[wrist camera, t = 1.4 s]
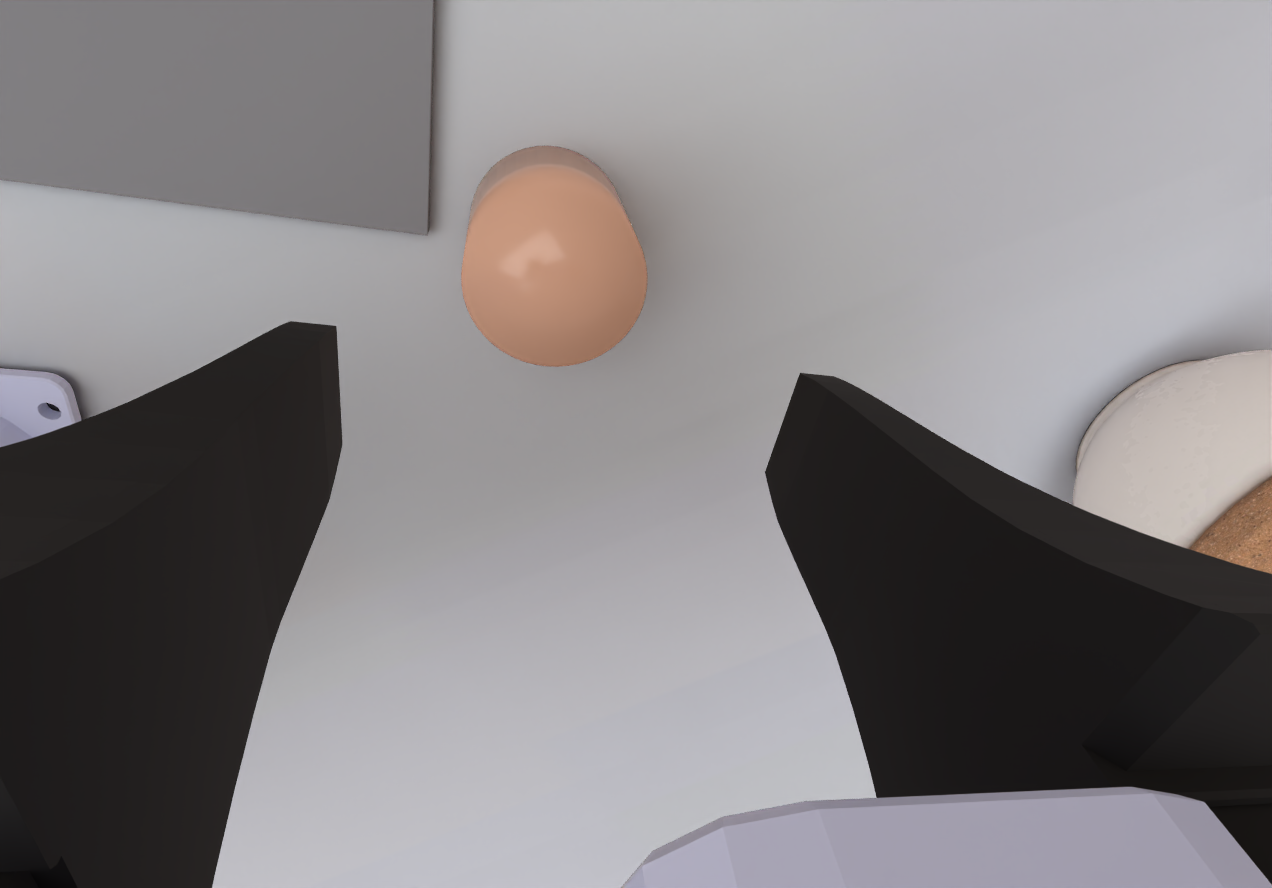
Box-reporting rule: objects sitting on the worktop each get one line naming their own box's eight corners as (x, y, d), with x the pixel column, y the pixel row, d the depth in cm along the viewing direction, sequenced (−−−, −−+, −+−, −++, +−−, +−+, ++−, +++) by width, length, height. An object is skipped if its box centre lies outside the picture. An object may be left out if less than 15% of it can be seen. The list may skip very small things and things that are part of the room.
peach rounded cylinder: (610, 305, 20) (629, 373, 17) (465, 289, 19) (456, 358, 16) (636, 159, 18) (664, 205, 15) (474, 132, 17) (466, 175, 14)
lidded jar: (959, 515, 27) (1136, 736, 19) (1159, 255, 22) (1510, 419, 14) (1153, 560, 30) (1369, 763, 23) (1367, 344, 25) (1741, 515, 18)
